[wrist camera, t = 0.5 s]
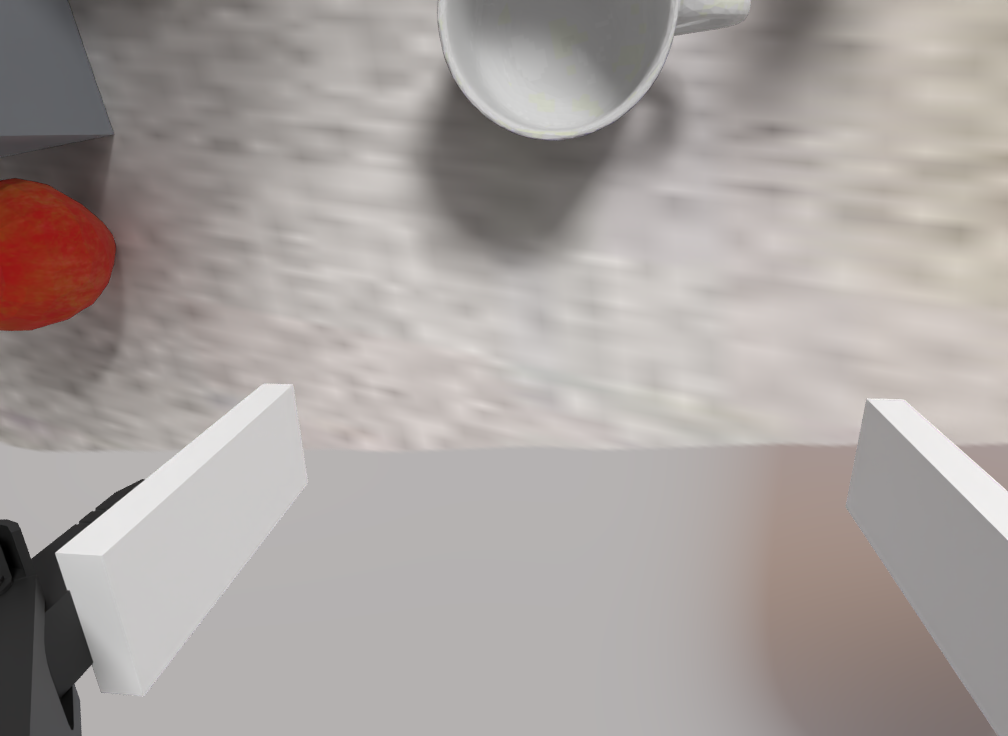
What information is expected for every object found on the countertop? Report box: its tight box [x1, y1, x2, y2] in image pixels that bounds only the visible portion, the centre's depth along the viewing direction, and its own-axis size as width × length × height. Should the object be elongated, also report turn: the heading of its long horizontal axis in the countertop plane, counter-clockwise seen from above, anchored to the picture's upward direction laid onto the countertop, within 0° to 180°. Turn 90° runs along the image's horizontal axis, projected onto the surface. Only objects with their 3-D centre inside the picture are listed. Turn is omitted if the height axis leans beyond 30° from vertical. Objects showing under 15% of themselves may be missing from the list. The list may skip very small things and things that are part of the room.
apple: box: [0, 178, 116, 331], centre depth 38 cm, size 9×8×11 cm
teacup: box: [437, 0, 751, 140], centre depth 32 cm, size 14×11×8 cm
